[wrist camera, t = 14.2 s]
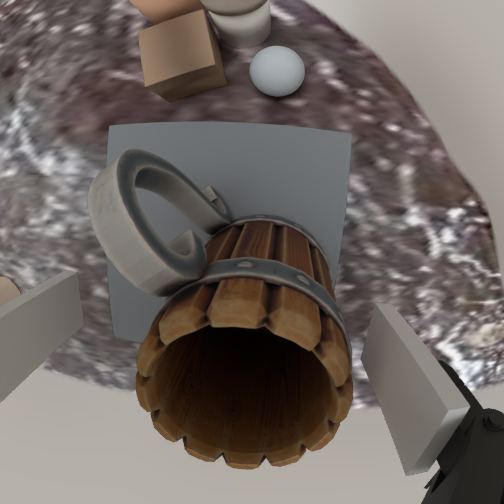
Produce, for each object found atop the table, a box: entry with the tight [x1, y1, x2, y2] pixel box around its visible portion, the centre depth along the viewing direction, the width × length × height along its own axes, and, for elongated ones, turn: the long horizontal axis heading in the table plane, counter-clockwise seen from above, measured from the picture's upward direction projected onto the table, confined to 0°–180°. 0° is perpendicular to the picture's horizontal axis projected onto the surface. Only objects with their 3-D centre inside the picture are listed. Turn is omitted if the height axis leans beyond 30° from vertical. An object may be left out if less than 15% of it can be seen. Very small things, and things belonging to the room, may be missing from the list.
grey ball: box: [250, 46, 305, 96], centre depth 19 cm, size 4×4×4 cm
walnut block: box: [138, 9, 228, 102], centre depth 19 cm, size 5×5×5 cm
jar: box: [200, 0, 271, 49], centre depth 16 cm, size 5×5×7 cm
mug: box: [87, 149, 353, 469], centre depth 16 cm, size 16×11×15 cm
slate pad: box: [106, 122, 352, 343], centre depth 24 cm, size 20×20×1 cm
